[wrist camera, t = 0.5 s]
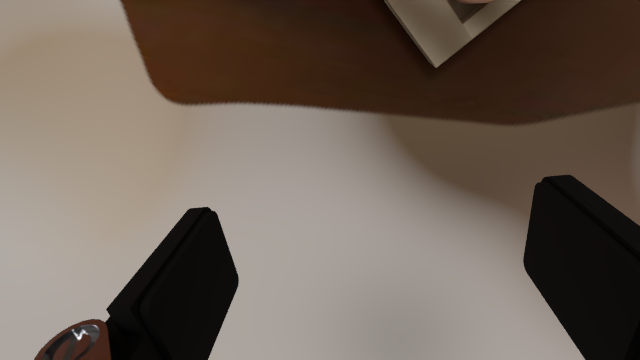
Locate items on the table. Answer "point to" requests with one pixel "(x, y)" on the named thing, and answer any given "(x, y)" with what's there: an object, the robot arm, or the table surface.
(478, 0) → the button terracotta
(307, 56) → the table surface
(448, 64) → the table surface
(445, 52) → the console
